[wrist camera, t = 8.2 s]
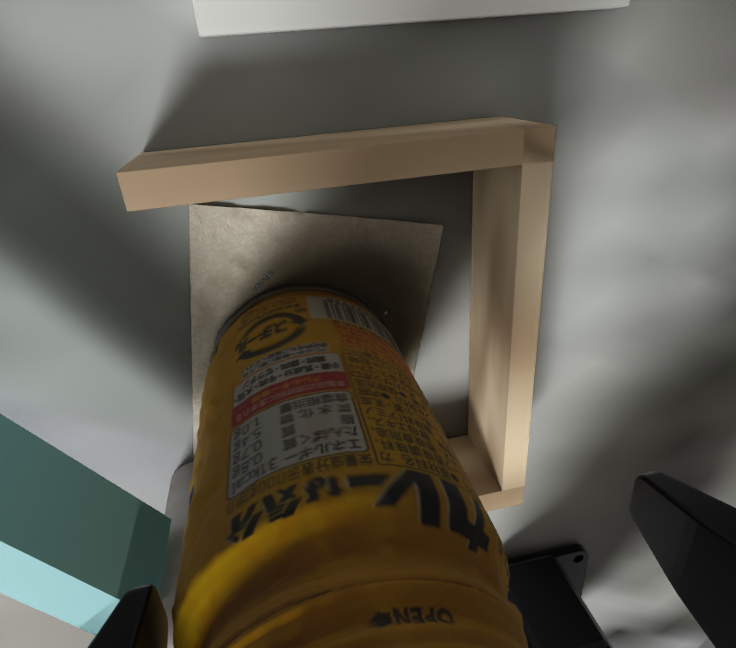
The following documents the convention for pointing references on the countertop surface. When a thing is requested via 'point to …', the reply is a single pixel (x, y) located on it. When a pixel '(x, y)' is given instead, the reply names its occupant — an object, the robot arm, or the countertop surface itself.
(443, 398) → the countertop surface
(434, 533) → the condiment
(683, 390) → the countertop surface
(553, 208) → the countertop surface
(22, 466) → the bar
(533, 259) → the holder
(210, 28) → the mat
